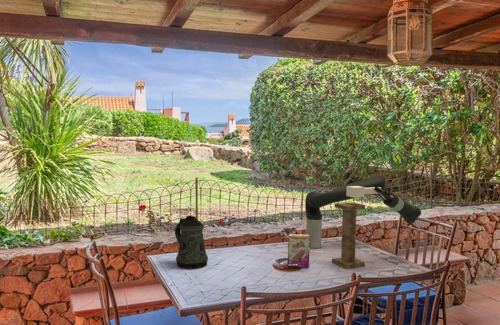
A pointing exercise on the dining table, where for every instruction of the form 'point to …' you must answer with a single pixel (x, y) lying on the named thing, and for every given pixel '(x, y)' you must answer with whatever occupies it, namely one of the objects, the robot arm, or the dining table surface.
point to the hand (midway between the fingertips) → (373, 187)
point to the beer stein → (190, 244)
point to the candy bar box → (299, 249)
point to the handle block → (359, 191)
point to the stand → (348, 236)
